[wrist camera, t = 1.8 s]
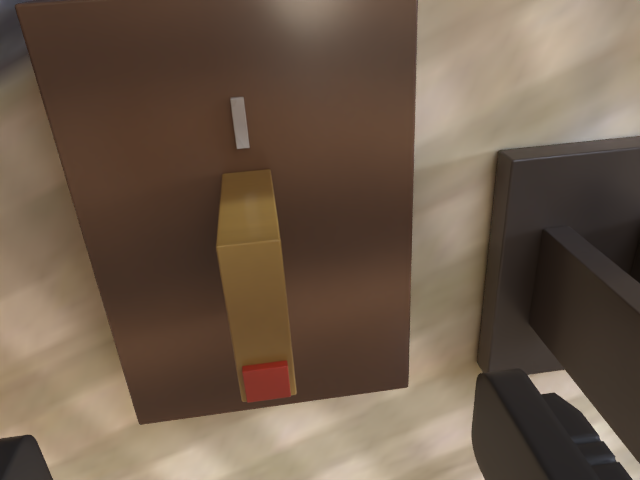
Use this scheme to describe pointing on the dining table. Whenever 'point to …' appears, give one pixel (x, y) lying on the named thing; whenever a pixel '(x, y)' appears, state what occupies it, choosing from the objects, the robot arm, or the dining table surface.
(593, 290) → the handle bracket
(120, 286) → the plate
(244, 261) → the bar
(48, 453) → the dining table surface
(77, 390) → the dining table surface
